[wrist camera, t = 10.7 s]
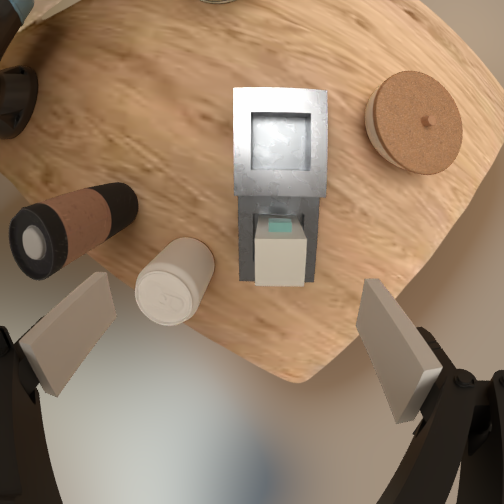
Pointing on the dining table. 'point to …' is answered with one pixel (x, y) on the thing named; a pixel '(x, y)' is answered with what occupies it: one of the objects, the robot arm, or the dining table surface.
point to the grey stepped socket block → (279, 164)
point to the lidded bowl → (414, 123)
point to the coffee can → (217, 1)
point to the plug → (280, 251)
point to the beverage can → (175, 282)
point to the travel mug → (69, 227)
